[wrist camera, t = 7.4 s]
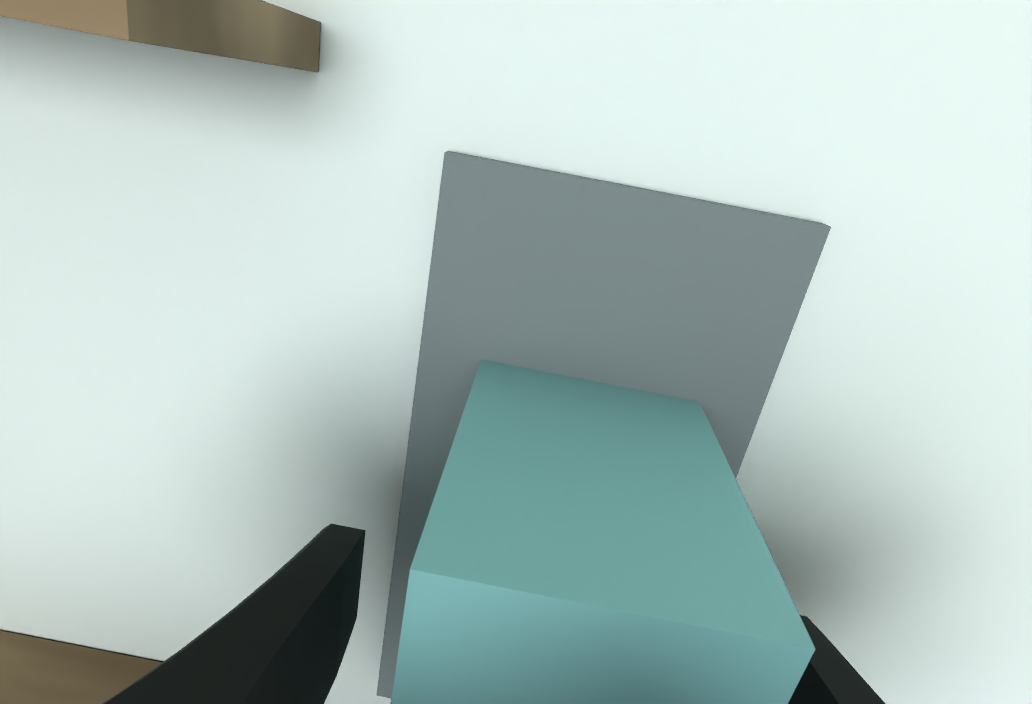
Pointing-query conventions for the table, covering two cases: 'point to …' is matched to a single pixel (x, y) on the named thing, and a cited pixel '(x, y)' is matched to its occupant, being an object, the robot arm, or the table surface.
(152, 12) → the frame
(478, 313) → the mat
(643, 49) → the table surface
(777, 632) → the block
